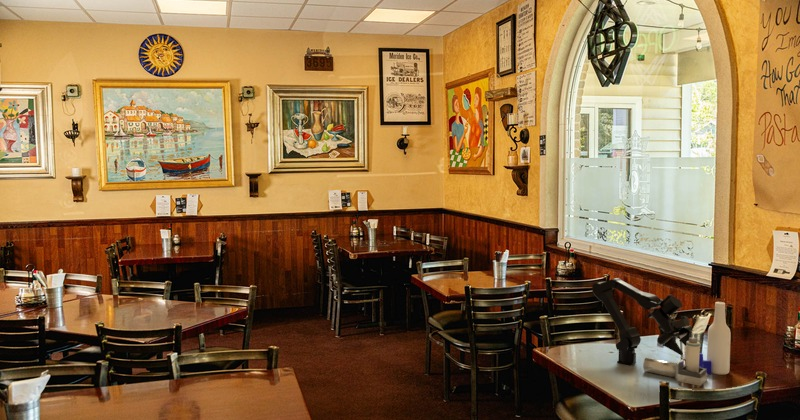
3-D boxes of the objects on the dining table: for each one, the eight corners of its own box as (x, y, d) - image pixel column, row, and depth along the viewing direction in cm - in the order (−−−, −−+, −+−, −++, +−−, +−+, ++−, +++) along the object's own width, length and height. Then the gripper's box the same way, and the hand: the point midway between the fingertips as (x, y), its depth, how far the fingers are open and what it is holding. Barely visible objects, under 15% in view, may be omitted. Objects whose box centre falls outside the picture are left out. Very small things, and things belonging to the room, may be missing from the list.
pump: (685, 374, 270) (686, 339, 269) (685, 370, 275) (685, 336, 274) (699, 376, 269) (700, 340, 268) (698, 372, 274) (699, 337, 272)
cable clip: (690, 366, 292) (691, 352, 291) (701, 366, 291) (701, 353, 291) (699, 375, 280) (700, 361, 279) (710, 375, 279) (711, 361, 279)
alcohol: (728, 376, 278) (730, 305, 275) (705, 372, 282) (707, 303, 280) (730, 370, 285) (732, 301, 283) (708, 367, 290) (710, 299, 287)
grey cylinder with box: (641, 373, 281) (642, 357, 280) (649, 368, 288) (649, 352, 287) (700, 385, 266) (701, 368, 265) (706, 380, 273) (707, 363, 272)
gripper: (665, 313, 270) (689, 346, 262) (689, 307, 281) (713, 338, 274) (647, 328, 277) (670, 360, 269) (671, 321, 288) (694, 352, 281)
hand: (688, 352), depth 273 cm, fingers open, 9 cm apart
